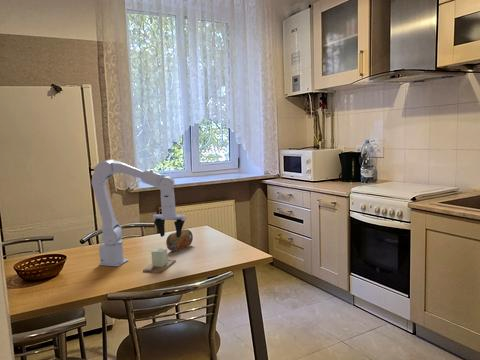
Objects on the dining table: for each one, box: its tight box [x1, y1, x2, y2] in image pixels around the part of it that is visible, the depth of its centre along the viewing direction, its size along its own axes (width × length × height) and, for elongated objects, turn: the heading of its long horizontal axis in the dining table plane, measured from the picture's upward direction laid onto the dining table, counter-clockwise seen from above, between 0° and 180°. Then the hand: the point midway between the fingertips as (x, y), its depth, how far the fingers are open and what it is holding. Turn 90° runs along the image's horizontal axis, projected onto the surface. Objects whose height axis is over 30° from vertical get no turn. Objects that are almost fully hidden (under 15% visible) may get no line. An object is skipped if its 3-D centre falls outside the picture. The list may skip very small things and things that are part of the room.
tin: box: [165, 229, 194, 252], centre depth 180 cm, size 15×3×8 cm, turn 143°
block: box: [150, 247, 168, 267], centre depth 157 cm, size 5×5×6 cm
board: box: [142, 258, 176, 274], centre depth 158 cm, size 8×13×2 cm, turn 163°
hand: (170, 236), depth 163 cm, fingers open, 7 cm apart
